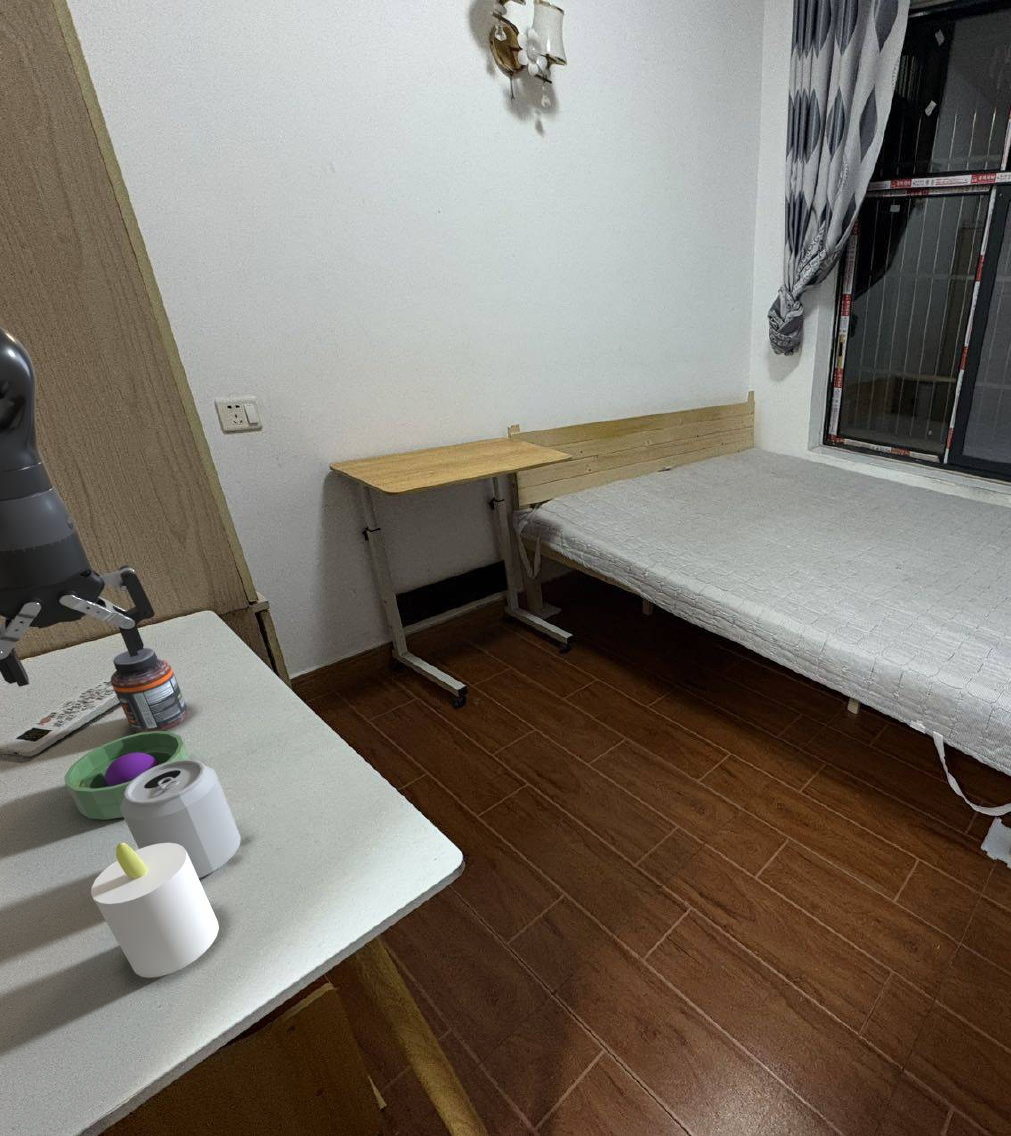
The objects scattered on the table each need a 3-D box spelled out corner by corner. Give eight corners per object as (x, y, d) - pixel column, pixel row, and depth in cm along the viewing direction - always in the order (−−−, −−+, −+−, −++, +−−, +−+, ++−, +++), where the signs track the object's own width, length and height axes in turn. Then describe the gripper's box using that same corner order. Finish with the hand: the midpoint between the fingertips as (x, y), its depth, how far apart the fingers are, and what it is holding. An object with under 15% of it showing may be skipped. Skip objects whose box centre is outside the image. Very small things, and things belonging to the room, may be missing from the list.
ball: (102, 801, 73) (87, 772, 71) (132, 773, 77) (118, 745, 75) (146, 800, 74) (133, 771, 72) (173, 772, 78) (161, 744, 76)
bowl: (55, 826, 70) (37, 793, 68) (125, 761, 80) (111, 731, 78) (157, 821, 72) (142, 789, 70) (214, 759, 81) (203, 729, 79)
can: (224, 822, 73) (193, 743, 68) (256, 852, 70) (225, 772, 64) (141, 867, 67) (101, 784, 62) (172, 903, 64) (131, 819, 58)
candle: (222, 903, 64) (176, 796, 58) (216, 957, 59) (165, 847, 53) (139, 933, 61) (81, 823, 54) (126, 992, 56) (61, 880, 49)
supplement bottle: (126, 723, 86) (96, 655, 81) (181, 703, 90) (155, 638, 85) (140, 742, 83) (109, 673, 78) (196, 720, 87) (170, 654, 82)
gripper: (114, 508, 69) (161, 632, 76) (-94, 537, 59) (-18, 676, 66) (124, 530, 64) (172, 659, 71) (-99, 564, 54) (-18, 710, 61)
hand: (81, 667), depth 68 cm, fingers open, 8 cm apart
